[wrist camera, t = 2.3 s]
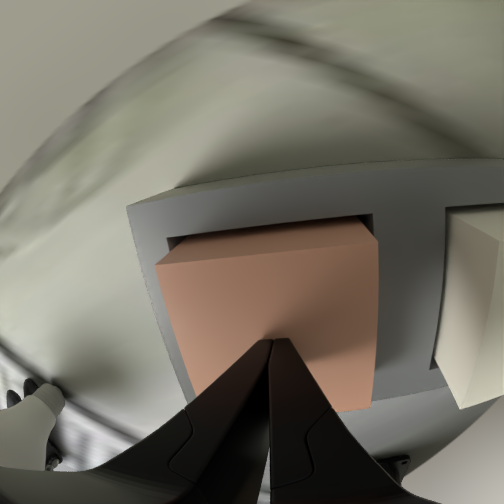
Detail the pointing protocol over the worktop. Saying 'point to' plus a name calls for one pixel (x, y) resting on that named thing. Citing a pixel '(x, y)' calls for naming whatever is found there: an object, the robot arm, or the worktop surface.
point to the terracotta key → (279, 300)
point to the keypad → (336, 205)
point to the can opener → (51, 452)
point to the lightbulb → (29, 428)
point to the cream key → (472, 304)
